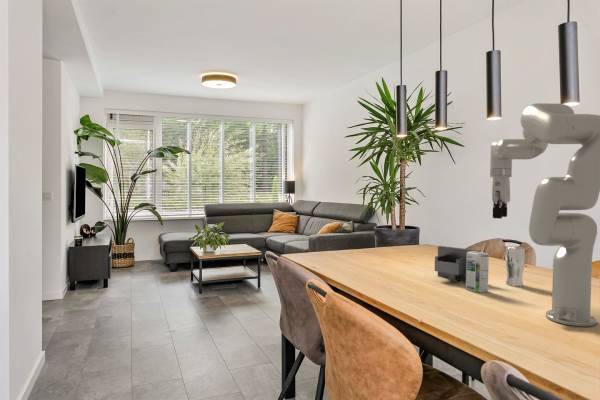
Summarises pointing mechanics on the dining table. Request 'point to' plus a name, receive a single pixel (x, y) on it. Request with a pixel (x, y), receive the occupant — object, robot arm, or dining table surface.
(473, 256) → the syrup box
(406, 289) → the dining table surface
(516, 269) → the beer glass
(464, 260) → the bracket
